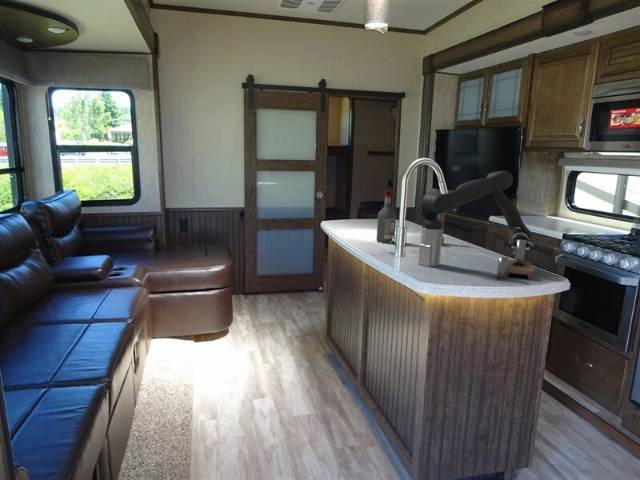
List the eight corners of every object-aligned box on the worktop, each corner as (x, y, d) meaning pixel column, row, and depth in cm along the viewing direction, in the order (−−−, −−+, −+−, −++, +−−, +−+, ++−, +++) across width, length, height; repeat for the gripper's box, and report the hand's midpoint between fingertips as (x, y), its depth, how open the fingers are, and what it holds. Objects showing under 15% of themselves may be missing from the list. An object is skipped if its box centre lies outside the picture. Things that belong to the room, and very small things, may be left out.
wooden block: (424, 243, 259) (426, 212, 256) (439, 242, 263) (442, 212, 260) (428, 244, 256) (430, 213, 253) (443, 244, 260) (446, 213, 257)
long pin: (519, 275, 195) (523, 241, 192) (511, 273, 197) (515, 239, 194) (523, 273, 197) (527, 240, 194) (515, 272, 200) (519, 239, 197)
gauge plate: (531, 280, 187) (532, 270, 186) (505, 276, 191) (506, 267, 190) (529, 270, 203) (530, 261, 202) (505, 267, 207) (506, 259, 206)
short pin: (503, 280, 185) (505, 259, 183) (495, 278, 188) (497, 257, 186) (507, 279, 187) (509, 258, 186) (499, 277, 190) (501, 256, 188)
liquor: (374, 241, 261) (377, 190, 255) (384, 239, 267) (387, 189, 261) (386, 244, 254) (389, 191, 249) (396, 242, 260) (399, 190, 255)
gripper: (505, 232, 215) (504, 237, 200) (537, 235, 209) (539, 240, 195) (503, 247, 216) (502, 254, 202) (535, 250, 211) (537, 257, 196)
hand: (520, 247), depth 198 cm, fingers open, 8 cm apart
